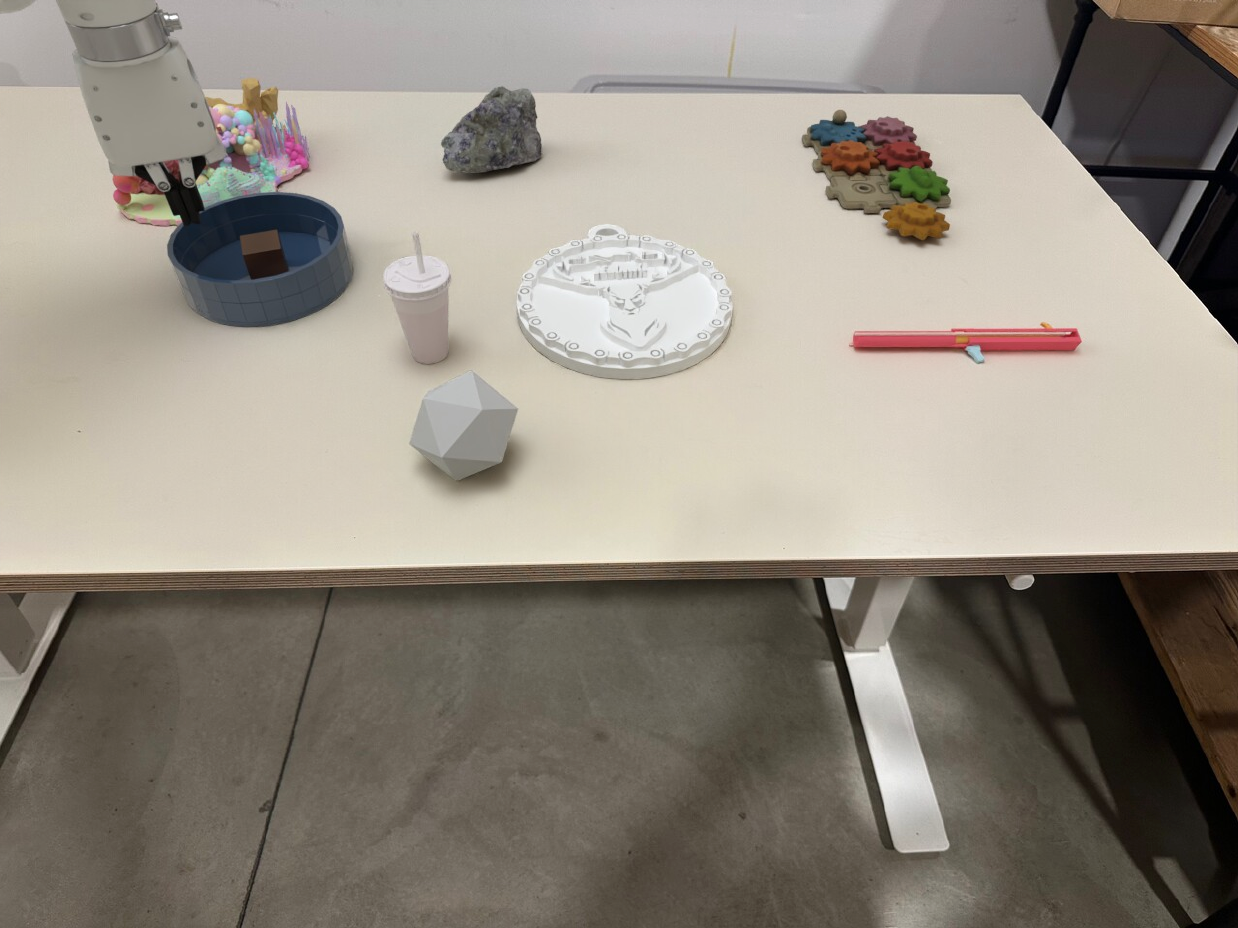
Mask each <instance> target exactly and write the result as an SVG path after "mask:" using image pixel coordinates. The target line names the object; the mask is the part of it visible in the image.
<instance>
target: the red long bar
mask: <svg viewBox="0 0 1238 928" xmlns="http://www.w3.org/2000/svg"><path fill="white" fill-rule="evenodd" d="M1039 326H1040V327H1041V328H951V329H950V330H861V331H860V330H856V331H854V332H853V335H852V342H849V343H848V345H849V347H854V348H962V349H963V352H967V355H970V356H971V358H972V359H973V360H974V361H975V363H976V364H977V363H983V362H984V361H985V360H986V357H984V355H983V354H982V352H985V351H986V352H991V351H992V352H997V351H998V352H999V351H1000V352H1001V351H1003V352H1004V351H1005V352H1006V351H1007V352H1008V351H1011V352H1012V351H1015V352H1016V351H1019V352H1021V351H1075V350H1076V349H1077V347H1079V346H1080V345H1081V343H1082V342H1083V339H1082V338H1081V335H1080V333H1079V330H1078V328H1077V327H1076V328H1075V327H1074V328H1073V327H1072V328H1071V327H1070V328H1069V327H1067V328H1066V327H1064V328H1062V327H1060V328H1058V327H1056V328H1054V327H1053V326H1052V325H1050V324H1049V323H1047V322H1044V321H1042V322H1040V324H1039Z"/></svg>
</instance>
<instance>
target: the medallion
mask: <svg viewBox="0 0 1238 928" xmlns="http://www.w3.org/2000/svg"><path fill="white" fill-rule="evenodd" d="M714 264H715V263H714V262H713V261H712V260H710V259H707V258H704V257H702V256H701V255H699V253H698V251H696V250H695V249H693V248H687V247H685V246H682V245H679V244H677V243H676V241H674V240H671V239H659V238H655V237H654V236H652V235H649V234H644V235H634V234H633V235H632V234H628V233H627V231H626V229H624V228H623V227H621V226H619V225H616V224H611V223H602V224H598V225H595V226H593V227H591V228H590V229H589V230H588V232H587V238H582V239H580V240H579V239H572V240H570V241H568V242H567V243H566V244H564V245H561V246H558V247H557V246H556V247H551V248H550V249H549V250H548V252H547V253H546V254H545V255H544V256H542V257H540V258H536V259H534V260H533V261H532V266H531V267H530V269H529V270H527V271H525V272H524V273H523V274H522V275H521V277H522V278H521V280H522V281H521V283H520V285H519V288H518V289H517V294H516V314H517V320H518V323H519V328H520V330H521V332H522V333H523V335H524V337H525V339H526V340H527V341H528V343H530V345H531V346H532V347H533V348H534V349H535V350H536V351H537V352H539V353H540V354H541V355H542V356H544V357H546V358H547V359H549V360H550V361H552V362H553V363H556V364H558V365H560V366H562V367H564V368H566V369H568V370H572V371H574V372H577V373H580V374H583V375H589V376H593V377H597V378H598V377H599V378H603V379H613V380H644V379H652V378H659V377H665V376H668V375H672V374H674V373H678V372H682V371H684V370H687V369H689V368H691V367H693V366H695V365H697V364H699V363H700V362H702V361H704V360H705V359H708V357H710V356H711V355H713V353H714V352H715V351H716V350H717V349H718V348H719V347H721V345H722V343H723V342H724V340H726V337H727V336H728V333H729V330H730V327H731V324H732V317H733V307H734V306H733V305H734V304H733V298H732V297H733V296H732V295H733V291H732V289H730V288H729V287H728V285H727V283H726V280H727V279H726V277H727V276H726V275H725V274H723V273H722V272H720V271H719V270H717V268H716V267H715V265H714Z"/></svg>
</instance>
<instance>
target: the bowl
mask: <svg viewBox="0 0 1238 928" xmlns="http://www.w3.org/2000/svg"><path fill="white" fill-rule="evenodd" d="M204 209H205V211H201V212H200V222H201V224H195V223H192V220H191V224H190V226H184V225H183V222H182V223H180V225H178V226H176V228H175V229H174V230H173V231H172V232H171V234H170V236H169V239H168V241H167V244H166V255H167V258H168V260H169V262H170V265H171V267H172V270H173V272H174V274H175V277H176V280H177V282H178V284H179V287H180V289H181V291H182V294H183V296H184V298H185V300H186V302H187V304H188V305H189V307H190V308H191V309H192V310H193V311H194V312H195V313H197V314H198V315H199V316H201V317H202V318H204V319H206V320H209V321H212V322H214V323H218V324H221V325H225V326H232V327H241V328H242V327H243V328H259V327H268V326H269V327H270V326H276V325H281V324H285V323H291V322H293V321H296V320H300V319H302V318H305V317H308V316H310V315H312V314H314V313H317V312H318V311H321V310H323V309H324V308H325V307H327V306H329V305H330V304H332V303H333V302H335V300H337V299H338V298H339V297H340V296H341V295H342V294H343V293H344V292H345V290H346V289H347V288H348V286H349V285H350V283H351V282H352V278H353V275H354V263H353V258H352V253H351V249H350V245H349V242H348V237H347V232H346V229H345V228H346V227H345V224H344V220H343V218H342V216H341V214H340V213H339V211H337V209H336V208H335V207H334V206H332V205H330V204H329V203H328V202H326V201H324V200H322V199H319V198H317V197H314V196H311V195H308V194H302V193H297V192H287V191H286V192H285V191H277V192H266V193H255V194H248V195H242V196H237V197H233V198H230V199H226V200H223V201H220V202H217V203H215V204H212V205H210V206H207V207H205V208H204ZM272 230H278V234H279V237H280V240H281V244H282V247H283V251H284V254H285V257H286V261H287V266H288V270H289V272H285V273H282V274H279V275H276V276H271V277H265V278H259V279H254V280H251V278H250V276H249V273H248V270H247V267H246V264H245V261H244V258H243V255H242V248H241V242H240V236H242V235H248V234H254V233H260V232H266V231H272Z"/></svg>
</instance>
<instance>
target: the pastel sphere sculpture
mask: <svg viewBox="0 0 1238 928" xmlns="http://www.w3.org/2000/svg"><path fill="white" fill-rule="evenodd" d="M240 82H241V89H242V103H236V104H235V103H229V102H227V101H226V100H224V99H222V98H221V97H216V98H215V97H208V96H205V98H206V100H207V103H208V105H209V108H210V111H211V114H212V116H213V120H214V123H215V127H216V134H217V136H218V137H219V139H220V140H221V142H222V143H223V145H224V147H225V149H226V158H224V159H222V160H220V161H217V162H215V163H212V164H208V165H206V166H205V168H204V170H203V171H202V173H201V174H200V176H199V177H198V179H197V180H196V185H197V188H198V191H199V193H200V196H201V199H202V201H203V204H204V208H205V207H207V206H210V205H212V204H215V203H217V202H220V201H223V200H226V199H230V198H233V197H237V196H242V195H248V194H255V193H266V192H278V188H277V187H278V185H280V184H281V183H283V182H286V181H288V180H291V179H293V178H294V176H295V175H298V174H300V173H302V171H303V170H304V169H307V168H308V167H309V162H310V159H309V158H310V157H311V155H310V152H309V151H310V149H309V145H308V140H307V136H306V135H305V136H304V135H302V132H301V129H300V125H299V124H300V123H299V121H298V120H299V119H298V116H297V111H296V107H294V106H293V104H290V107H289V104H288V102H287V101H285V111H286V113H285V115H286V117H285V118H283V119H284V123H285V124H283V123H282V121H279V120H278V118H277V114H278V111H279V104H278V100H279V99H278V97H279V89H278V88H277V86H272V87H269V88H267V89H265V90H263V91H262V92H261V88H262V87H261V84H260V81H259V78H252V77H247V78H245V79H241V80H240ZM290 108H291V110H290ZM291 112H292V115H291ZM274 120H275V125H274ZM164 164H165V165H166V167H167V169H168V171H169V173H170V174H172V175H173V176H175V178H176V179H178V181H179V173H180V168H179V163H178V159H177V160H171V161H165V162H164ZM112 183H113V186H114V187H115V188H116V189H115V190H114V191H113V193H112V198H113V200H114V201H115V203H116V207H117V209H118V210H119V212H120V213H121V214H123V215H124V216H125V217H126V218H127V219H128V220H135V221H136V222H137V223H139V224H151V225H153V226H161V227H162V226H164V227H165V226H166V227H169V226H172V225H173V226H174V225H176V227H178V225H180V223H182V220H181V217H180V215H177V216H173V214H172V211H171V209H170V206H169V204H168V201H167V199H166V196H165V194H164V192H162V191H160V190H159V189H158V188H157V186H155V185H153V184H151V183H150V182H148V181H146V180H144V179H142V178H140V177H138V176H116V175H113V174H112Z"/></svg>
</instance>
